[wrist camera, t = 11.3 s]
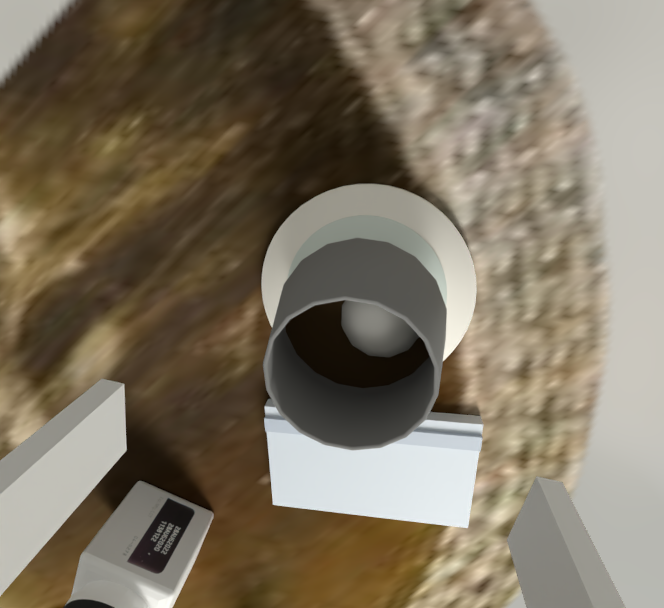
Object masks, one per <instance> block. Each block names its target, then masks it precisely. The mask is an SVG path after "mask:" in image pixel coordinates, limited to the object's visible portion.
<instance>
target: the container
mask: <svg viewBox="0 0 664 608" xmlns="http://www.w3.org/2000/svg"><path fill="white" fill-rule="evenodd" d="M213 516H214V514H213V512H212V511H209V510H207V509H205V508H203V507H200V506H198V505H196V504H193V503H191V502H189V501H187V500H184V499H182V498H180V497H177V496H175V495H173V494H171V493H168V492H166V491H164V490H162V489H159V488H157V487H155V486H152V485H150V484H148V483H146V482H143V481H138V482H137V483H136V484H135V485H134V486H133V488H132V489H131V490H130V492H129V493H128V494H127V496H126V497H125V498H124V499H123V501H122V502H121V503H120V505H119V506H118V507H117V509H116V510H115V511H114V512H113V514H112V515H111V516H110V518H109V519H108V520H107V521H106V523H105V524H104V525H103V527H102V528H101V529H100V531H99V532H98V533H97V534H96V536H95V537H94V538H93V540H92V541H91V542H90V544H89V545H88V546H87V547H86V549H85V550H84V551H83V553H82V554H81V556H80V560H79V565H78V569H77V573H76V578H75V582H74V586H73V591H72V595H71V598H70V599H69V601H68V602H67V603H66V605H65V606H64V607H63V608H172V607H173V605H174V603H175V601H176V599H177V597H178V595H179V593H180V591H181V589H182V587H183V585H184V583H185V581H186V579H187V576H188V574H189V572H190V570H191V568H192V566H193V564H194V562H195V560H196V557H197V555H198V553H199V550H200V548H201V545H202V543H203V541H204V538H205V536H206V534H207V531H208V529H209V526H210V524H211V522H212V519H213Z"/></svg>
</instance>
